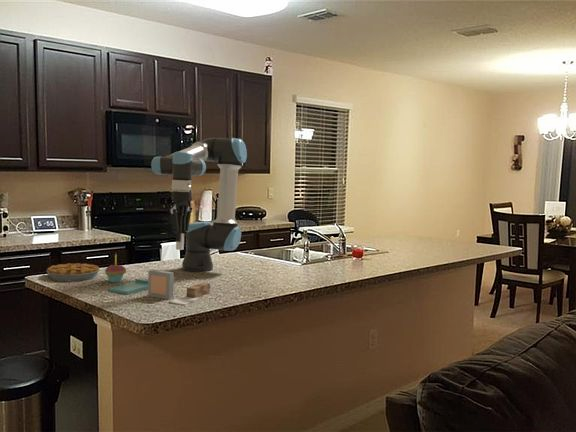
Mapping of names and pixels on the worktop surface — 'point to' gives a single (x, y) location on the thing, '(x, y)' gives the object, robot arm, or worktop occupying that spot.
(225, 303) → the worktop surface
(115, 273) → the cupcake
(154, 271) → the tile
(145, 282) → the rest
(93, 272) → the pie
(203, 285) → the turner
